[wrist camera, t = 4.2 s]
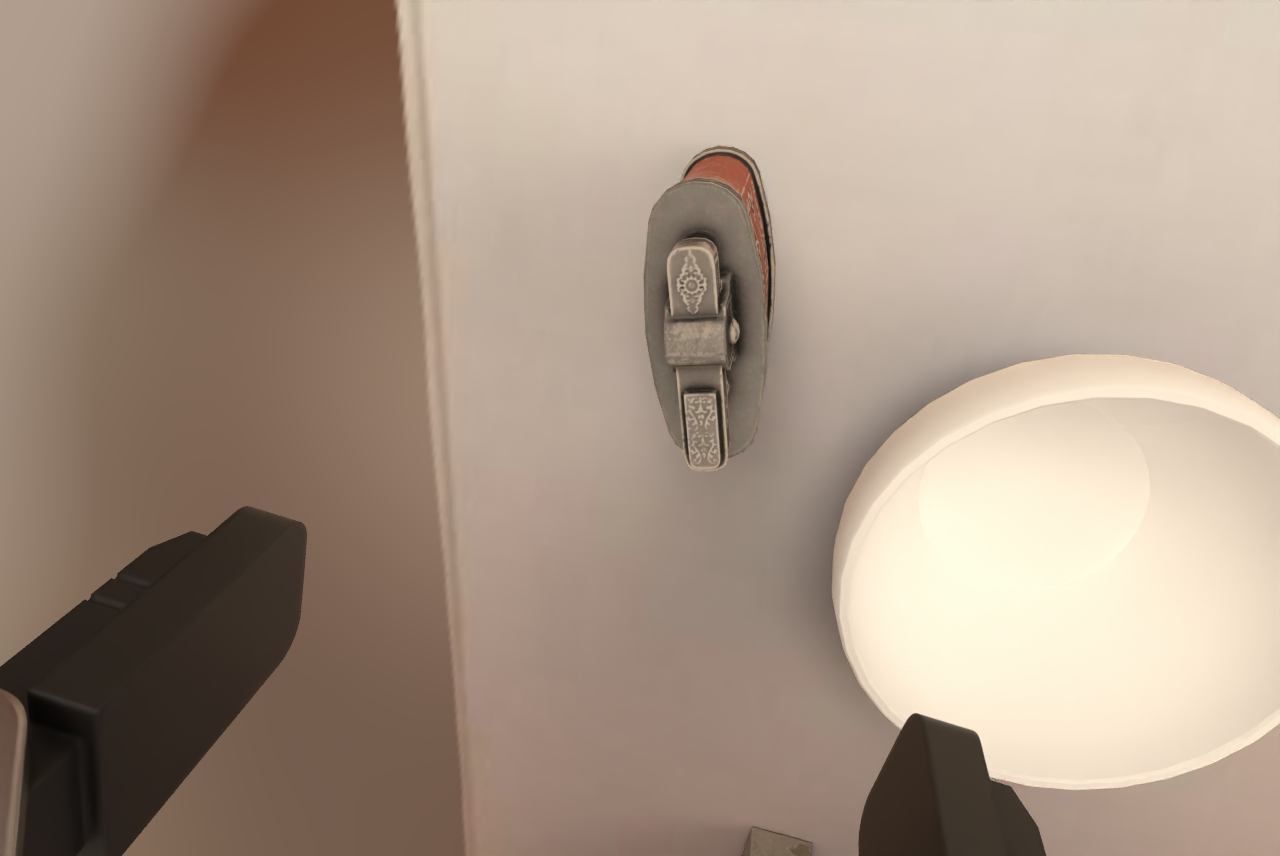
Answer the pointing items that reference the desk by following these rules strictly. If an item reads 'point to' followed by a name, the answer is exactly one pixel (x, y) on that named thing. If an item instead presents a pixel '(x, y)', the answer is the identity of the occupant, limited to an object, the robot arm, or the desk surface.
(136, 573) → the robot arm
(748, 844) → the building
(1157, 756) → the bowl
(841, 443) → the desk surface
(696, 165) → the lighter
